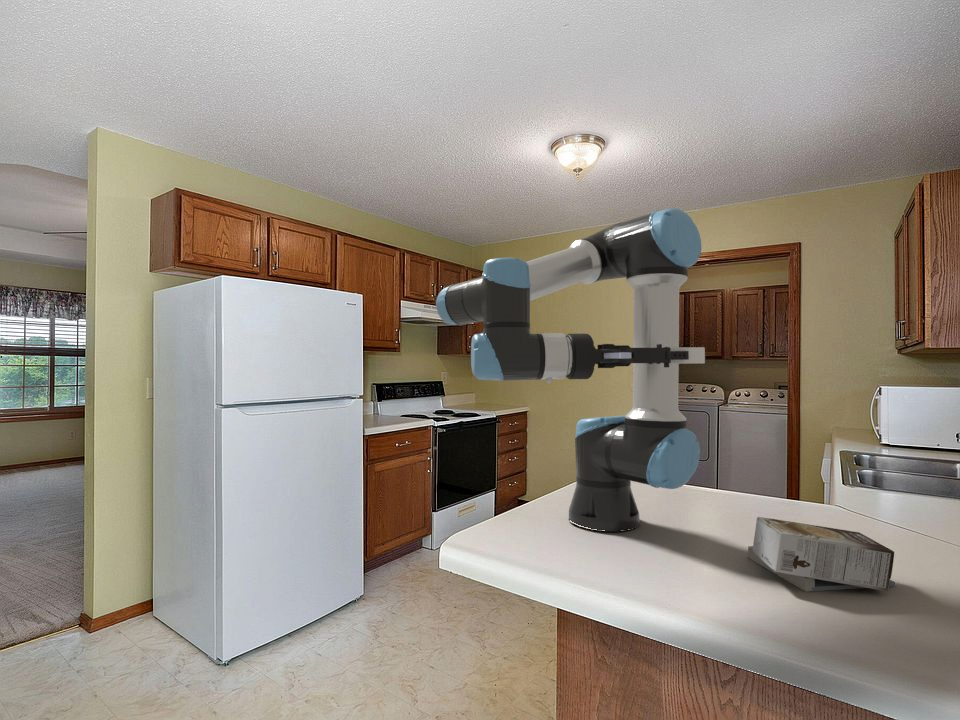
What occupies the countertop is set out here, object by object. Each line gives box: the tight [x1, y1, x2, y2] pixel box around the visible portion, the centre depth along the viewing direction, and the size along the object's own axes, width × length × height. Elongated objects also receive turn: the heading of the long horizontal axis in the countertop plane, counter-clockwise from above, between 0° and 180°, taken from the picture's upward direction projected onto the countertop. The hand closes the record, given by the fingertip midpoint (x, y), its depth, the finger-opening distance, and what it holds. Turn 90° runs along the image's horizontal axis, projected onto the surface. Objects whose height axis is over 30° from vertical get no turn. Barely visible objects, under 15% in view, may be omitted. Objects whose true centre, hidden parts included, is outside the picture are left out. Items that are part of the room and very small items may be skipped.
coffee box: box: [752, 516, 895, 592], centre depth 83 cm, size 9×6×16 cm
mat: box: [747, 545, 896, 593], centre depth 87 cm, size 14×15×2 cm
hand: (702, 355), depth 88 cm, fingers closed
